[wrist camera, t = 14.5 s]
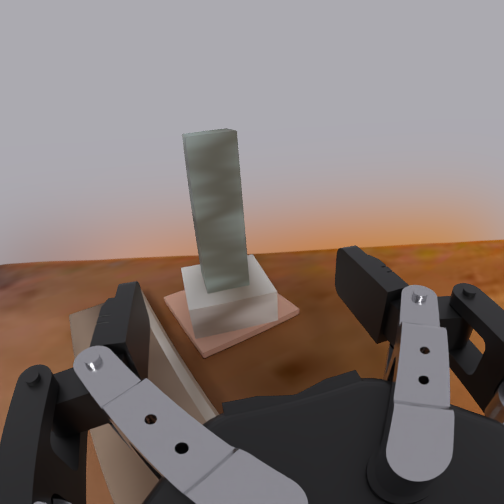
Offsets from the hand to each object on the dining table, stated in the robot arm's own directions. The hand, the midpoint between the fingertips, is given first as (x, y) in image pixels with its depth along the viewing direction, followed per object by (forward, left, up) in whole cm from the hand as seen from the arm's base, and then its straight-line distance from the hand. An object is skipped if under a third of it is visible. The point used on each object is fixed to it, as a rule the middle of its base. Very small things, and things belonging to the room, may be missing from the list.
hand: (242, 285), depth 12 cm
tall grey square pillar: (+3, +9, -8) cm, 12 cm away
